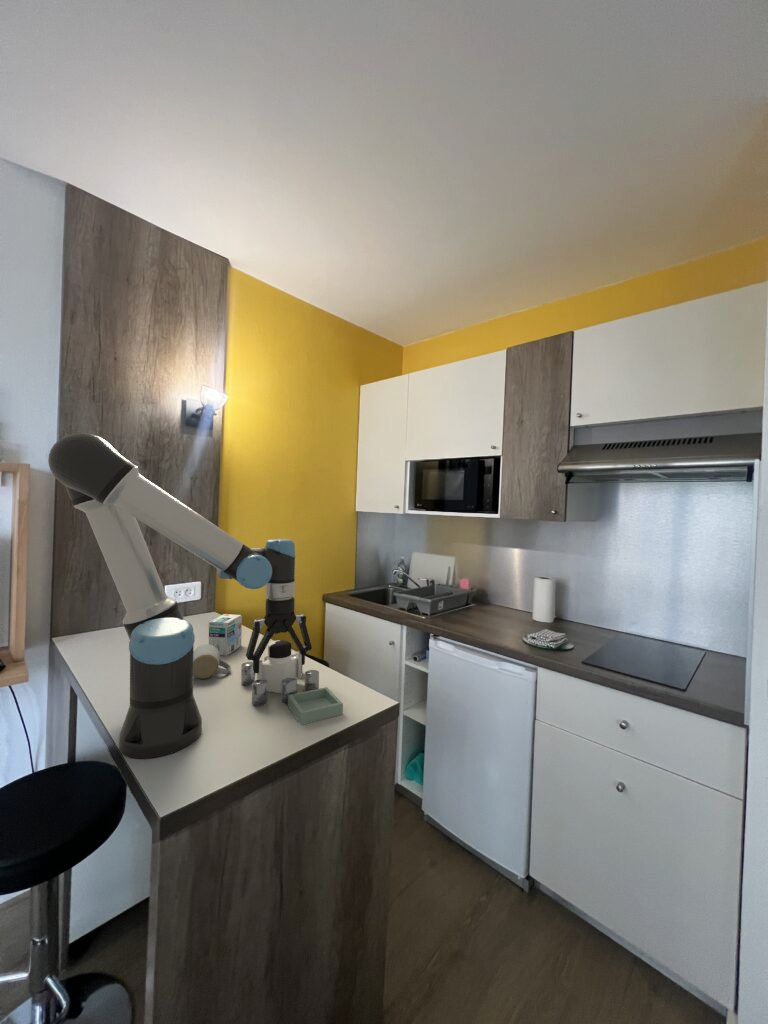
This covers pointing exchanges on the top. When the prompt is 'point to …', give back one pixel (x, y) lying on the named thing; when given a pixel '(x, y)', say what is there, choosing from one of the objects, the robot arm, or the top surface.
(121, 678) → the top surface
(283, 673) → the medicine bottle
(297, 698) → the tray
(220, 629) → the light bulb box
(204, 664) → the ceramic mug
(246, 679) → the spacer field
